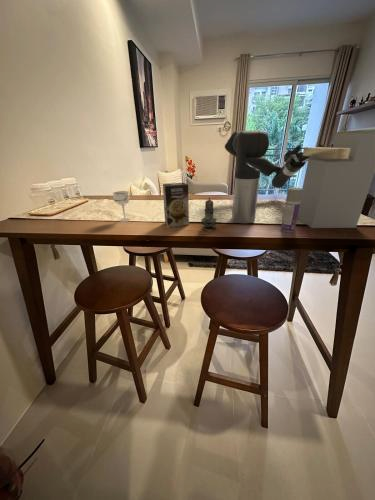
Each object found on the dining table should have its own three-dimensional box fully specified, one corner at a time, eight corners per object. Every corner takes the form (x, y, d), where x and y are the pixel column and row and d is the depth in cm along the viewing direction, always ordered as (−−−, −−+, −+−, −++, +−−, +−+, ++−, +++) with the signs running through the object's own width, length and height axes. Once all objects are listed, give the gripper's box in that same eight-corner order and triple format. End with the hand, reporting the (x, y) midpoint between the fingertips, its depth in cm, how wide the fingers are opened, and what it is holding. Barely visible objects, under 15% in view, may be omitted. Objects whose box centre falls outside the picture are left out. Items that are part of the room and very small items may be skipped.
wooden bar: (334, 158, 68) (337, 148, 66) (302, 155, 89) (304, 147, 88) (347, 158, 67) (350, 148, 66) (312, 155, 89) (314, 147, 88)
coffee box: (167, 227, 85) (164, 186, 78) (164, 222, 90) (161, 183, 83) (189, 225, 87) (188, 184, 80) (185, 220, 92) (184, 181, 85)
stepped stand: (311, 227, 80) (335, 130, 66) (296, 216, 93) (313, 132, 78) (355, 227, 79) (389, 128, 65) (334, 216, 92) (359, 131, 77)
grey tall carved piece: (215, 231, 79) (216, 199, 74) (200, 231, 80) (200, 199, 75) (217, 226, 84) (218, 196, 79) (202, 225, 86) (202, 195, 80)
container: (290, 227, 81) (298, 187, 74) (296, 232, 77) (305, 189, 70) (278, 228, 81) (285, 187, 74) (284, 232, 77) (291, 190, 70)
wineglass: (127, 222, 92) (122, 194, 86) (114, 221, 94) (109, 194, 88) (135, 218, 97) (132, 191, 92) (123, 217, 99) (118, 190, 94)
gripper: (278, 157, 103) (292, 138, 87) (308, 157, 102) (328, 137, 86) (278, 172, 103) (292, 156, 87) (308, 172, 102) (329, 155, 86)
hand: (310, 146), depth 86 cm, fingers open, 8 cm apart
